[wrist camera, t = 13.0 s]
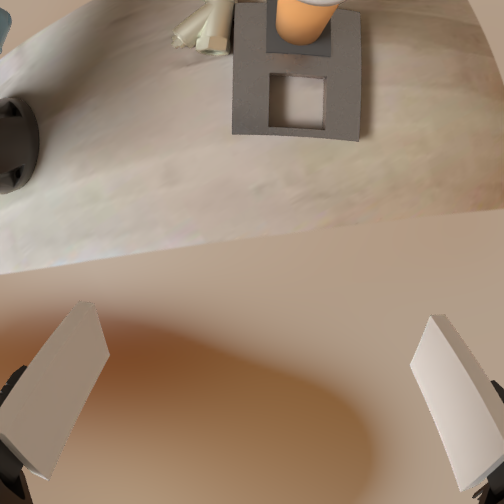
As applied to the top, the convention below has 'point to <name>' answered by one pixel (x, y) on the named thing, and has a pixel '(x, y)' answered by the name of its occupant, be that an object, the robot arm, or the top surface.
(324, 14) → the orange pill bottle
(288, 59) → the plate
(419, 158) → the top surface
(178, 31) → the pipe fitting
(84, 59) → the top surface
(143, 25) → the top surface
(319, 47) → the pad
